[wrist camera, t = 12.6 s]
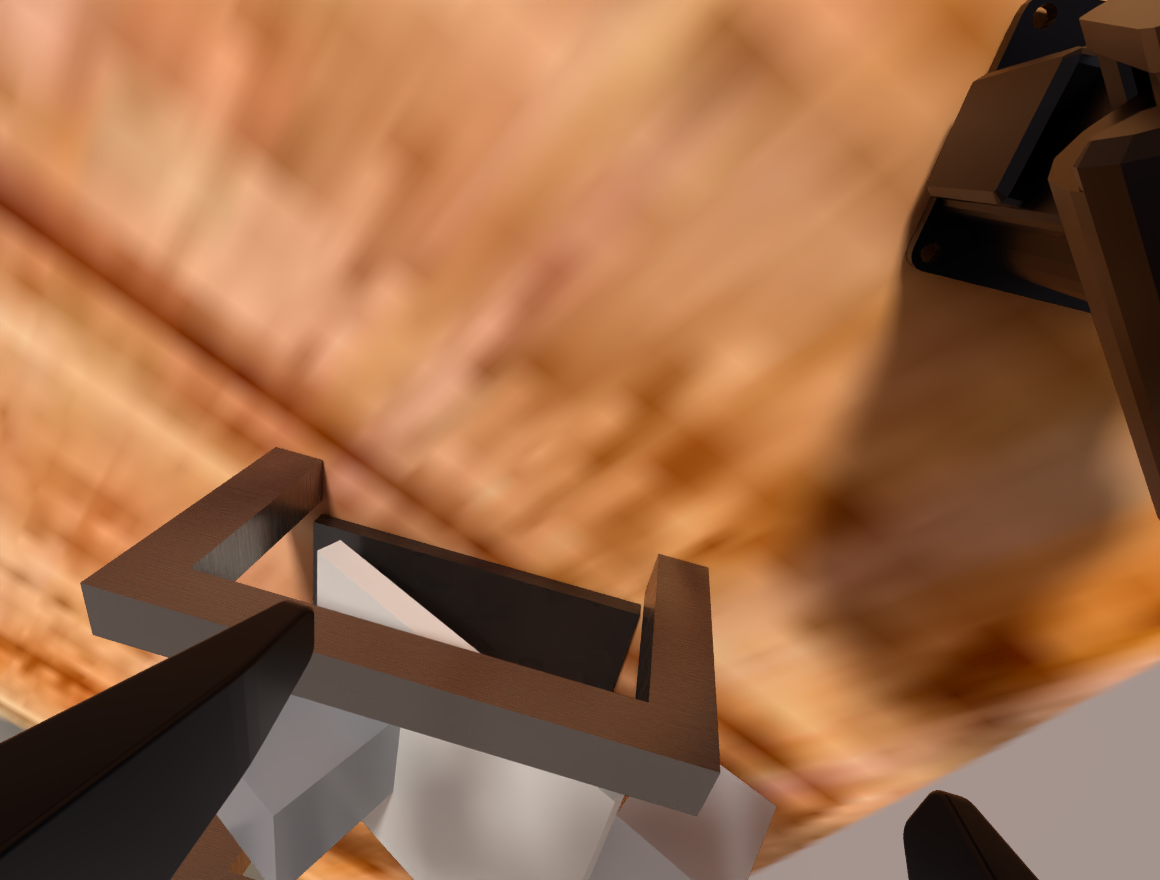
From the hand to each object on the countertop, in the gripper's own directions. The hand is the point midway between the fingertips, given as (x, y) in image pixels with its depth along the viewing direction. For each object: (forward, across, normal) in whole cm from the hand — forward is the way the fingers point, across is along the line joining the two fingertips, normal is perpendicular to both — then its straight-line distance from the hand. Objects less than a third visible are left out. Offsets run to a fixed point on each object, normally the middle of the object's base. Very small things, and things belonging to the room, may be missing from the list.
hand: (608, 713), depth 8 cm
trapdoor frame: (+13, +5, +16) cm, 21 cm away
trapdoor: (+11, 0, +16) cm, 20 cm away
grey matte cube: (+9, +8, +16) cm, 20 cm away
